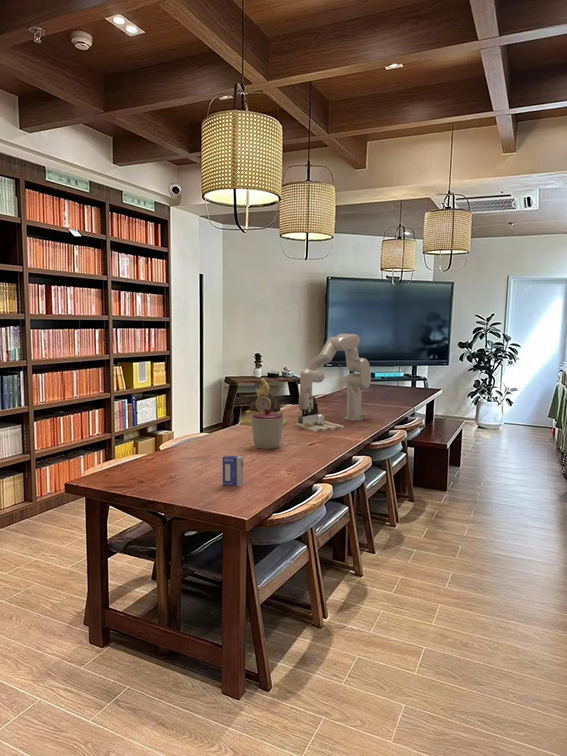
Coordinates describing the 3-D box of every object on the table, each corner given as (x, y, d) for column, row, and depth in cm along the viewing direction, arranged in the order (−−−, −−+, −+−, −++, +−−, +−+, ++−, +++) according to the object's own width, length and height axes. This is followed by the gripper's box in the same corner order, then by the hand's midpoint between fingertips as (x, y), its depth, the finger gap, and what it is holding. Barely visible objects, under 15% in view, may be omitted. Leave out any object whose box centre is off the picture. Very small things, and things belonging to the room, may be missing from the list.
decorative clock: (239, 425, 333) (239, 378, 330) (246, 421, 345) (246, 376, 342) (282, 428, 325) (282, 380, 322) (287, 424, 338) (288, 378, 334)
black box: (322, 416, 357) (313, 396, 358) (305, 423, 361) (296, 403, 362) (323, 415, 361) (314, 395, 361) (306, 422, 365) (297, 402, 365)
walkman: (222, 485, 208) (222, 456, 207) (224, 483, 211) (224, 454, 210) (241, 486, 207) (241, 457, 206) (243, 484, 210) (243, 455, 209)
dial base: (323, 422, 343) (323, 417, 342) (344, 428, 324) (344, 423, 324) (295, 425, 331) (295, 420, 331) (315, 432, 313) (315, 426, 312)
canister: (262, 441, 286) (262, 403, 284) (290, 446, 277) (291, 406, 275) (243, 448, 270) (243, 408, 268) (272, 453, 261) (272, 411, 259)
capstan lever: (319, 422, 332) (320, 413, 331) (326, 424, 327) (326, 414, 326) (295, 426, 320) (295, 416, 320) (301, 427, 315) (301, 417, 315)
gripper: (317, 392, 319) (316, 421, 320) (304, 389, 331) (303, 418, 333) (307, 392, 315) (306, 422, 316) (294, 389, 327) (293, 418, 329)
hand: (304, 420), depth 324 cm, fingers closed
